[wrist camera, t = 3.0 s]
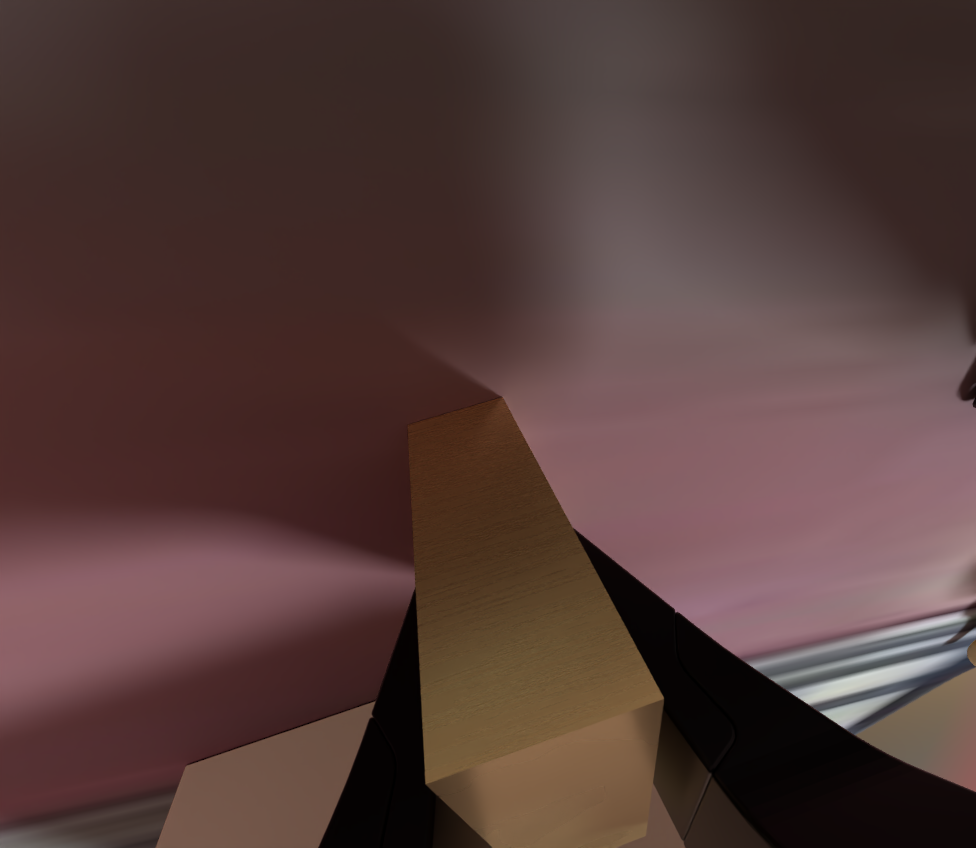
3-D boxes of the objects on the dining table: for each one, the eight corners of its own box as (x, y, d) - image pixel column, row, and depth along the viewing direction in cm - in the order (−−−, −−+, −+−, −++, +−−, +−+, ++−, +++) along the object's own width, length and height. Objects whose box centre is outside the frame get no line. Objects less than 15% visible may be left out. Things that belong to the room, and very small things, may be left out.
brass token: (502, 396, 8) (664, 698, 3) (537, 560, 12) (645, 835, 7) (407, 424, 8) (425, 783, 3) (470, 581, 11) (528, 881, 6)
